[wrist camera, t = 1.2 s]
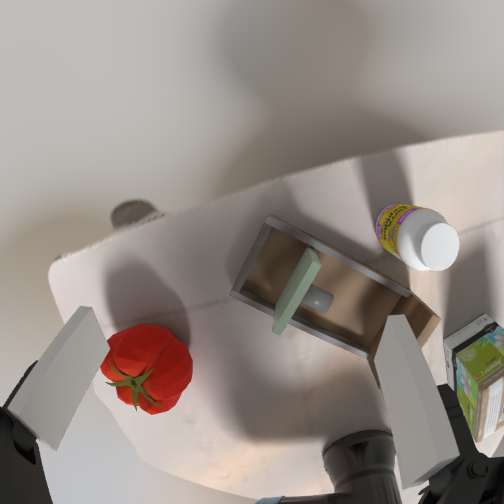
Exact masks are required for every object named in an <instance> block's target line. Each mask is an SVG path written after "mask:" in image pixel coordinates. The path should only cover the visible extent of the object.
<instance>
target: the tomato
mask: <svg viewBox="0 0 504 504" xmlns="http://www.w3.org/2000/svg"><path fill="white" fill-rule="evenodd" d="M107 343H108V345H109V347H110V350H109V352H108V353H107V355H106V357H105V359H104V360H103V362H102V364H101V366H100V368H101V371H102V373H103V374H104V375H105V376H106V377H107V378H108V379H110V380H111V381H112V382H114V383H108V382H105V383H107V384H109V385H111V386H116V391H117V395H118V398H119V399H121V400H122V401H123V402H124V403H126V404H129V405H134V407H135V409H136V411H137V406H140V408H141V409H142V410H144V411H146V412H147V413H149V414H151V415H153V414H158V413H162V412H166V411H168V410H170V409H171V408H172V407H174V406H175V405H176V403H177V401H178V400H179V398H180V396H181V393H182V392H183V391H184V390H185V389H186V387H187V386H188V384H189V383H190V381H191V378H192V372H193V361H192V358H191V355H190V353H189V350H188V348H187V346H186V345H185V344H184V343H182V342H181V341H180V340H178V339H177V338H176V337H175V336H174V335H173V334H172V333H171V332H170V331H169V329H166V328H163V327H161V326H158V325H151V324H138V325H136V326H133V327H131V328H128V329H126V330H123V331H121V332H118V333H116V334H114V335H112V336H111V337H110V338H109V339H108V340H107Z"/></svg>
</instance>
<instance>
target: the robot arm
mask: <svg viewBox="0 0 504 504" xmlns="http://www.w3.org/2000/svg"><path fill="white" fill-rule="evenodd" d="M109 350H110V347H109V345H108V343H107V341H106V339H105V336H104V334H103V332H102V330H101V328H100V325H99V323H98V321H97V318H96V316H95V314H94V311H93V309H92V307H85V306H80V307H79V308H78V309H77V311H76V312H75V313H74V314H73V316H72V317H71V318H70V319H69V321H68V322H67V323H66V324H65V326H64V327H63V328H62V330H61V331H60V332H59V333H58V335H57V336H56V337H55V339H54V340H53V342H52V343H51V344H50V346H49V347H48V348H47V349H46V351H45V352H44V354H43V355H42V356H41V358H40V359H39V361H38V360H37V361H36V362H34V363H33V364H32V365H31V366H29V368H28V369H27V370H26V372H25V373H24V376H23V377H22V378H21V379H20V381H19V383H18V384H17V385H16V387H15V388H14V390H13V391H12V393H11V394H10V396H9V398H8V399H7V401H6V402H5V404H4V405H3V407H2V408H1V407H0V504H53V502H52V499H51V496H50V493H49V489H48V486H47V482H46V478H45V474H44V471H43V466H42V462H41V457H40V452H39V447H38V444H37V443H36V439H38V440H39V441H41V442H42V443H43V444H44V445H45V446H47V447H49V448H51V449H53V450H55V451H57V449H58V447H59V444H60V442H61V440H62V438H63V436H64V434H65V432H66V430H67V428H68V426H69V424H70V422H71V420H72V418H73V416H74V414H75V412H76V410H77V408H78V406H79V404H80V402H81V400H82V398H83V397H84V395H85V393H86V391H87V389H88V387H89V385H90V383H91V382H92V380H93V378H94V376H95V375H96V373H97V371H98V369H99V367H100V366H101V364H102V362H103V360H104V359H105V357H106V355H107V353H108V352H109ZM374 363H375V366H376V370H377V374H378V377H379V381H380V385H381V389H382V392H383V396H384V400H385V404H386V408H387V413H388V417H389V421H390V425H391V430H392V435H393V437H392V436H391V435H390V434H389V433H386V432H383V431H375V430H373V431H363V432H359V433H355V434H352V435H349V436H346V437H344V438H342V439H340V440H338V441H337V442H335V443H334V444H332V445H331V446H330V447H329V448H328V449H327V450H326V452H325V454H324V458H323V459H324V468H325V471H326V472H327V473H328V474H329V477H330V479H331V481H332V483H333V485H334V489H335V493H332V494H323V495H313V496H298V497H285V496H281V497H272V498H262V499H260V500H258V501H257V502H256V503H255V504H402V501H401V497H400V493H399V489H398V485H397V481H396V477H395V474H394V464H395V454H397V460H398V465H399V471H400V477H401V483H402V489H407V488H410V487H414V486H417V485H421V484H422V483H424V482H425V481H427V480H428V479H429V484H430V485H428V486H427V487H425V488H424V489H422V490H421V491H420V492H419V493H418V495H421V494H423V493H424V494H423V496H422V498H421V499H420V501H419V503H418V504H504V457H495V458H488V457H487V456H486V455H484V454H483V453H479V451H478V450H477V448H476V446H475V444H474V441H473V438H472V435H471V432H470V429H469V426H468V423H467V421H466V418H465V415H463V414H464V413H463V410H462V407H461V406H460V402H459V400H458V397H457V395H456V393H455V392H454V390H453V389H452V388H451V387H450V386H449V385H448V384H443V385H438V386H436V384H435V381H434V379H433V376H432V374H431V372H430V369H429V367H428V365H427V362H426V360H425V358H424V355H423V353H422V351H421V349H420V346H419V344H418V342H417V340H416V338H415V336H414V333H413V331H412V329H411V327H410V325H409V323H408V321H407V319H406V317H405V315H404V314H403V315H389V316H388V318H387V321H386V325H385V328H384V331H383V334H382V337H381V340H380V343H379V346H378V349H377V352H376V355H375V358H374Z"/></svg>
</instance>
